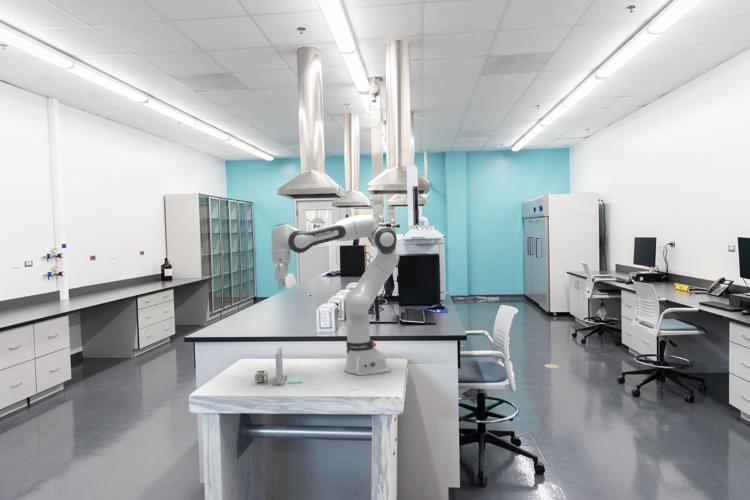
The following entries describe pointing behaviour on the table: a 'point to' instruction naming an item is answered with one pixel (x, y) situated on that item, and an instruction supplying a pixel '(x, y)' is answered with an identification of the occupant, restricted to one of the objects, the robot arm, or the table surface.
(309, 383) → the table surface
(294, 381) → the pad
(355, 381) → the table surface
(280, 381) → the screen
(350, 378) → the table surface
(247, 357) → the table surface
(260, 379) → the letter cube
